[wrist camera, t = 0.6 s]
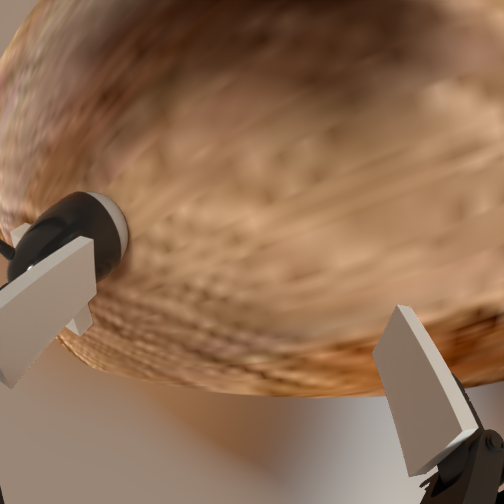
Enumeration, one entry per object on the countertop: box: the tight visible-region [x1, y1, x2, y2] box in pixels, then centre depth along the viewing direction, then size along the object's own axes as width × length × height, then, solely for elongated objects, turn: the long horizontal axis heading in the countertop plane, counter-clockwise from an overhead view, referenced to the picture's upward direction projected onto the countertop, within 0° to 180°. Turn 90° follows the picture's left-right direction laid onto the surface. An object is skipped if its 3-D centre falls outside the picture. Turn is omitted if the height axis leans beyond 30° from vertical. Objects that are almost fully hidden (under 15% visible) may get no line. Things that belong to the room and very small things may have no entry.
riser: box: [10, 223, 93, 337], centre depth 40 cm, size 16×16×4 cm
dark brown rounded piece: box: [0, 192, 128, 284], centre depth 25 cm, size 10×10×15 cm
